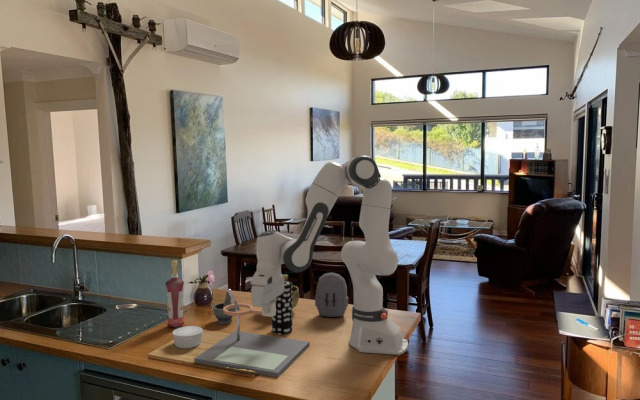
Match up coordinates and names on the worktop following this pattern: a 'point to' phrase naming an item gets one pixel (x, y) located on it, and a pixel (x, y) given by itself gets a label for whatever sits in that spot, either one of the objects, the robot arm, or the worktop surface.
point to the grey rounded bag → (331, 295)
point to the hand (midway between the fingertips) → (269, 311)
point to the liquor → (175, 298)
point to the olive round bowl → (293, 292)
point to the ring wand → (250, 310)
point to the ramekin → (187, 336)
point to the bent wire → (237, 311)
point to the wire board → (254, 353)
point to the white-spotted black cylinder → (283, 311)
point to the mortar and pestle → (219, 311)
